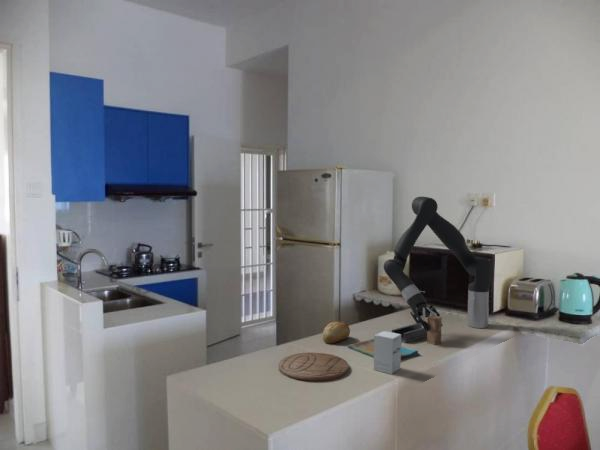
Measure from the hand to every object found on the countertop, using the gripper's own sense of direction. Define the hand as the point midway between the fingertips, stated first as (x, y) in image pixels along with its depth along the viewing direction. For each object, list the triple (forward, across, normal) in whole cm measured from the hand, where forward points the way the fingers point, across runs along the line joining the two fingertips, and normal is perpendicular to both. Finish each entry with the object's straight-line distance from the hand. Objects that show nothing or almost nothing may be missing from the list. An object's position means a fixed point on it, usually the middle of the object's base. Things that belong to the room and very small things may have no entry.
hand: (435, 328), depth 198 cm
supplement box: (+10, -40, -1) cm, 41 cm away
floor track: (-4, 0, +12) cm, 13 cm away
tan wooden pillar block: (+4, 0, +5) cm, 6 cm away
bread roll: (-15, -30, +25) cm, 42 cm away
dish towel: (0, -26, +10) cm, 28 cm away
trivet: (-2, -60, +12) cm, 61 cm away
